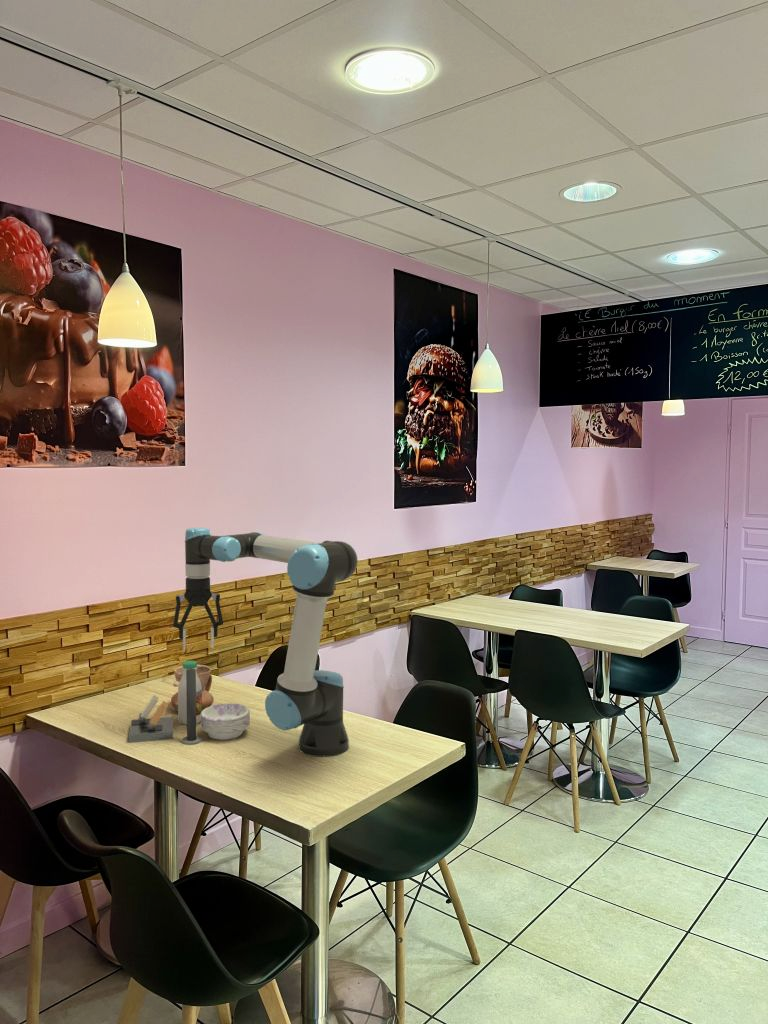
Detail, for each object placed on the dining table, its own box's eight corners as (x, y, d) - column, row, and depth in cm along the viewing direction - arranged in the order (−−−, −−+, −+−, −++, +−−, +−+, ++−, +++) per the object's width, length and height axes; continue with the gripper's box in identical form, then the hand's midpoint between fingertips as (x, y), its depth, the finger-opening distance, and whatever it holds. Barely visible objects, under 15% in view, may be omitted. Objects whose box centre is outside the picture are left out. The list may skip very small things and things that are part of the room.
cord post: (202, 743, 232) (201, 672, 230) (181, 745, 230) (181, 673, 229) (201, 736, 238) (200, 666, 236) (181, 738, 236) (180, 668, 235)
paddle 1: (142, 724, 242) (158, 701, 242) (137, 721, 241) (153, 698, 242) (143, 719, 246) (158, 697, 247) (138, 716, 246) (153, 694, 246)
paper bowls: (200, 745, 231) (200, 720, 230) (201, 728, 245) (200, 704, 245) (251, 741, 234) (251, 716, 234) (248, 725, 249) (248, 701, 248)
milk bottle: (177, 726, 247) (176, 665, 246) (178, 718, 255) (178, 659, 253) (201, 724, 249) (201, 664, 247) (202, 716, 256) (202, 658, 255)
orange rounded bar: (152, 731, 236) (168, 707, 237) (146, 728, 235) (162, 704, 236) (152, 726, 240) (168, 703, 241) (147, 723, 240) (162, 700, 240)
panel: (173, 738, 236) (173, 730, 236) (129, 742, 232) (129, 734, 232) (173, 723, 249) (173, 716, 249) (131, 727, 246) (131, 719, 246)
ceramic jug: (189, 719, 254) (190, 677, 253) (158, 711, 261) (159, 670, 260) (226, 706, 269) (227, 666, 268) (196, 698, 276) (197, 660, 276)
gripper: (230, 573, 245) (230, 643, 246) (163, 576, 239) (164, 647, 241) (232, 577, 238) (232, 648, 239) (163, 579, 232) (164, 652, 234)
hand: (198, 647), depth 240 cm, fingers open, 8 cm apart
